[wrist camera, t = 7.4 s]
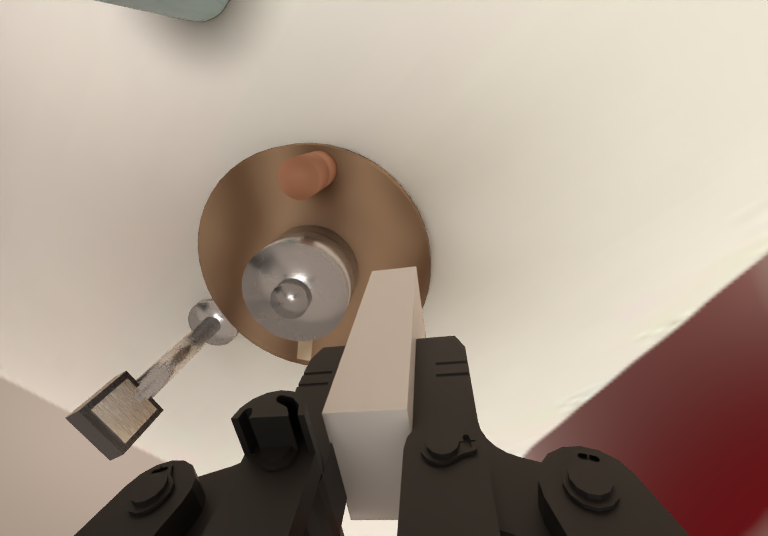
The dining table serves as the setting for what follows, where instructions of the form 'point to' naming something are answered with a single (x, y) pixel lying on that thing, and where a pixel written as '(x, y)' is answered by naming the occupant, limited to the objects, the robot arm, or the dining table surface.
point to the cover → (301, 283)
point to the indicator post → (145, 387)
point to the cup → (176, 7)
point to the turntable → (307, 207)
